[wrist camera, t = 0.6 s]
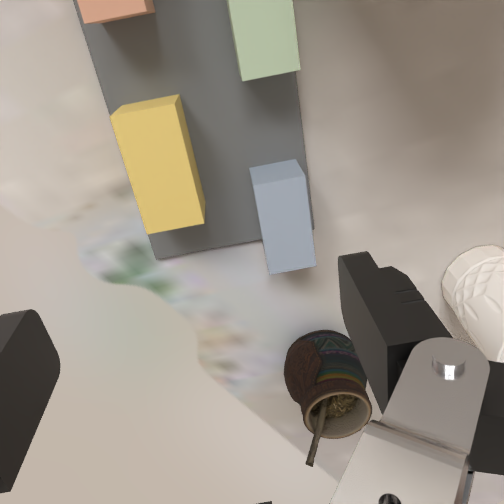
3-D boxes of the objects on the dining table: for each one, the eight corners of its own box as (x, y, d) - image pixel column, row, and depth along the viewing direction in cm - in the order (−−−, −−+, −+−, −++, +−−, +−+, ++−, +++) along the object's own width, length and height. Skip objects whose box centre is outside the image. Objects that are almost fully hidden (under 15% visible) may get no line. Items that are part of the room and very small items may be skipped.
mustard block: (121, 105, 30) (109, 116, 27) (179, 93, 30) (174, 103, 27) (154, 212, 34) (147, 234, 30) (205, 202, 34) (204, 223, 30)
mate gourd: (372, 335, 42) (413, 422, 33) (326, 389, 45) (353, 481, 36) (308, 307, 40) (334, 391, 31) (265, 364, 42) (277, 456, 34)
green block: (217, -50, 27) (217, -60, 23) (275, -61, 26) (284, -74, 23) (239, 74, 30) (242, 81, 26) (290, 63, 30) (300, 69, 26)
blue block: (249, 167, 33) (253, 185, 29) (295, 158, 33) (305, 175, 29) (264, 250, 36) (269, 274, 33) (306, 241, 36) (316, 266, 33)
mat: (53, -68, 26) (51, -69, 26) (272, -113, 26) (272, -115, 25) (156, 257, 36) (155, 259, 36) (313, 227, 36) (314, 229, 36)
